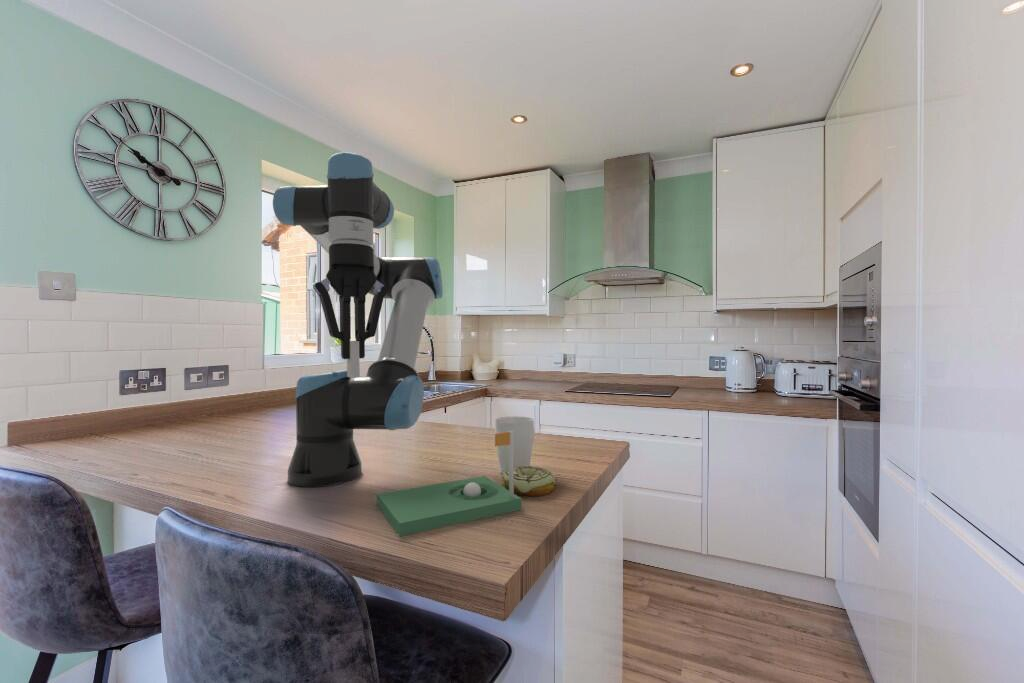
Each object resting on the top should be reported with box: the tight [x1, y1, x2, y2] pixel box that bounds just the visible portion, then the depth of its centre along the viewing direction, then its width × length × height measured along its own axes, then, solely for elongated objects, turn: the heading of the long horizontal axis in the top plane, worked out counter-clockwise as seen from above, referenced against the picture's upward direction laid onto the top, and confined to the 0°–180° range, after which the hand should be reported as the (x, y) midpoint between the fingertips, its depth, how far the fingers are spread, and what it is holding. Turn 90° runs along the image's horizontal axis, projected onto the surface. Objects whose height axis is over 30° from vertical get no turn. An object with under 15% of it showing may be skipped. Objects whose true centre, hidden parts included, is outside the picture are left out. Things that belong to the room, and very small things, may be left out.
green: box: [376, 431, 522, 537], centre depth 82 cm, size 15×22×14 cm
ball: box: [463, 482, 481, 496], centre depth 85 cm, size 3×3×3 cm
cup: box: [494, 415, 535, 475], centre depth 103 cm, size 9×9×12 cm
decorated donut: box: [501, 465, 556, 497], centre depth 92 cm, size 10×11×4 cm
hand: (353, 377), depth 81 cm, fingers closed
